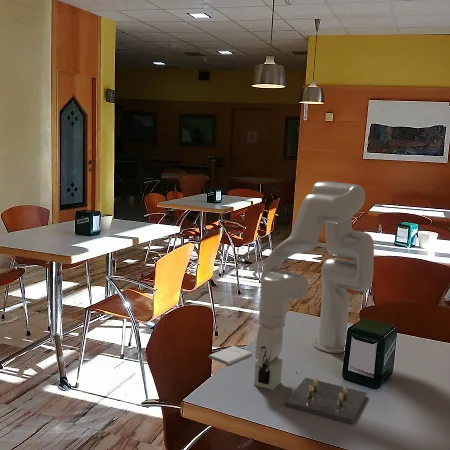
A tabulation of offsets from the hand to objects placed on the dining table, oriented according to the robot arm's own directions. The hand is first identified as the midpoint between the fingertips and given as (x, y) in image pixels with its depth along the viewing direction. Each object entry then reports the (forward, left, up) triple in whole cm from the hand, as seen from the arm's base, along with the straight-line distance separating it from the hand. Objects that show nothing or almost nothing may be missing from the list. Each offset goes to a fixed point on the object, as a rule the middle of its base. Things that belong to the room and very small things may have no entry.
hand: (267, 378), depth 156 cm
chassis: (+1, +18, -2) cm, 18 cm away
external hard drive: (-13, -18, -3) cm, 22 cm away
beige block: (0, 0, -2) cm, 2 cm away
